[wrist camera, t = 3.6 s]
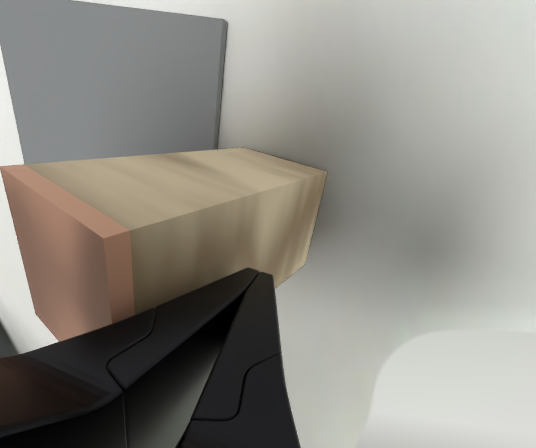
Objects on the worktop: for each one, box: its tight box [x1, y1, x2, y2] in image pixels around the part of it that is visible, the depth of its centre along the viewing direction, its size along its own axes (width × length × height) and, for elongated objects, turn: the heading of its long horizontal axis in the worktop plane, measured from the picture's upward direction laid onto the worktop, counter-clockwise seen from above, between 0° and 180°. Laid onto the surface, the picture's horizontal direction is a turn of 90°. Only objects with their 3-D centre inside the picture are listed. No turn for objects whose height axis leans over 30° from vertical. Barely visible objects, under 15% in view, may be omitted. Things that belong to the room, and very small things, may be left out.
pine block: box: [0, 148, 328, 342], centre depth 11 cm, size 5×5×10 cm
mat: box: [0, 0, 227, 164], centre depth 18 cm, size 16×14×1 cm
